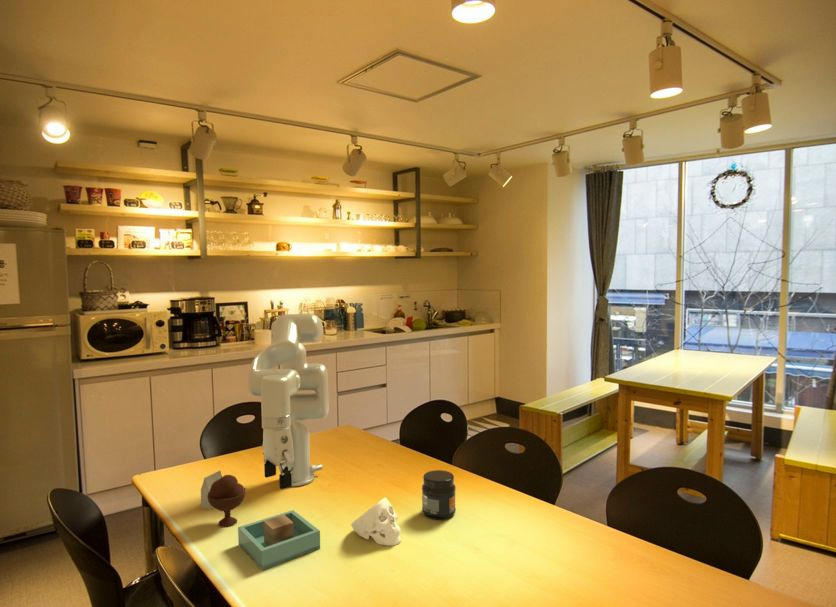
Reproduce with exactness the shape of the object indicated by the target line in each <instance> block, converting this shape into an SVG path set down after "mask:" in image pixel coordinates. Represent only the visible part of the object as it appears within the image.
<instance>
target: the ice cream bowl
mask: <svg viewBox="0 0 836 607" xmlns="http://www.w3.org/2000/svg"><path fill="white" fill-rule="evenodd" d="M246 490H247V489H246V487H244V485H243V484H241V483H239V481H238V479H237V478H236V476H234V475H232V474H225V475H222V478H220V479H218V480H216V481H215V482H214V483H213V484H212V486H211V489H210V492H208V501H209V503H210V505H211V506H212V507H214V508H213V509H216V510H218V511H220V512H223V513H224V517H223V518H222V519H220V520H219V521H218V524H217V525H218V527H220V528H230V527H234V526H235V525H236V524H238V519H237V518H235V517H233V516H231V512H232V511H233V510H234V509H236V508H237V507H239V506H240V505H241V504H242V503H243V502H244V499H245V496H246Z"/></svg>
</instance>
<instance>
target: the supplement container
mask: <svg viewBox="0 0 836 607" xmlns="http://www.w3.org/2000/svg"><path fill="white" fill-rule="evenodd" d="M422 477H423V480H422V481H423V483H422V484H421V490H422V492H421V494H422V495H421V501H422V502H421V503H422V504H421V506H422V507H421V511H422V513H423V515H424V516H425V517H427V519H431V520H437V521H440V520H442V521H443V520H448V519H450V518H452V517H453V516H455V514H456V512H457V511H456V509H457V508H456V489H457V488H456V487H457V486H456V484H455V483H454V482H455V476H454V474H453V473H452V472H451V471H447V470H441V469H440V470H439V469H438V470H437V469H436V470H435V469H433V470H430V471H427V472H425V473H424V474H423V475H422Z"/></svg>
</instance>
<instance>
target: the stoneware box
mask: <svg viewBox="0 0 836 607" xmlns="http://www.w3.org/2000/svg"><path fill="white" fill-rule="evenodd" d="M281 515H285V516H286V517H287V518H289V519H290V520H291V521H292V522H293V524H294V538H291V539H288V540H285V541H282V542H279V543H277V544H274V545H271V546H267V545H266V544H265V543H264V521H265V520H269V519H272V518H275V517H278V516H281ZM237 528H238V529H237V534H238V535H237V538H238V542H237V543H238V546H239V547H240V548H241V549H242V550H243V551H244V552H245V554H246V555H247V556H248V555H249V556H250V559H251V560H252V561H253V562H254V563H255V564H256V566H257V567H259V568H260V570H261V571H264V570H267V569H269V568H273V567H275V566H278V565H280V564H284V563H286V562H288V561H292V560H294V559H296V558H300V557H302V556H305V555H307V554H310V553H312V552H315V551H318V550H320V549H321V531H320V529H318V527H315V526H314V525H313V524H312V523H310V522H309V521H308V520H306V519H305V517H302V516H301V515H300V514H299V513H297V512H296V511H295V510H294V509H293V510H289V511H285V512H282V513H279V514H276V515H272V516H270V517H266V518H263V519H261V520H260V519H259V520H256V521H253V522H250V523H248V524H247V523H246V524H244V525H241V526H238V527H237ZM249 556H248V557H249Z"/></svg>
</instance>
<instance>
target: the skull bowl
mask: <svg viewBox="0 0 836 607" xmlns="http://www.w3.org/2000/svg"><path fill="white" fill-rule="evenodd" d="M397 521H398V515H397V514H396V512H395V510H394V508H393V506H392V504H391V503H390V501H389V500H388V498H386V497H384V498H382V499H380V500H379V501H378V502H377V503H376V504H374V505H372V506H371V508H369V509H367V510H366V511H365V512H364V513H363V514H362V515H360V516H359V517H358V518H357V519H355V520H354V521H353V522H351V524H350V526H351V527H352V529H353V531H354V532H355V533H356V534H358V536H359V537H362V538H363V539H365V540H369V539H370V537H372V539H373V540H374V542H375V543H376V544H377V545H382V546H389V547H391V546H396V545H398V544H399V543H400V542H401V541H402V537H401V536H400V534H401V527H400V525H398V524H397ZM381 534H384V536H383V535H381Z"/></svg>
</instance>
